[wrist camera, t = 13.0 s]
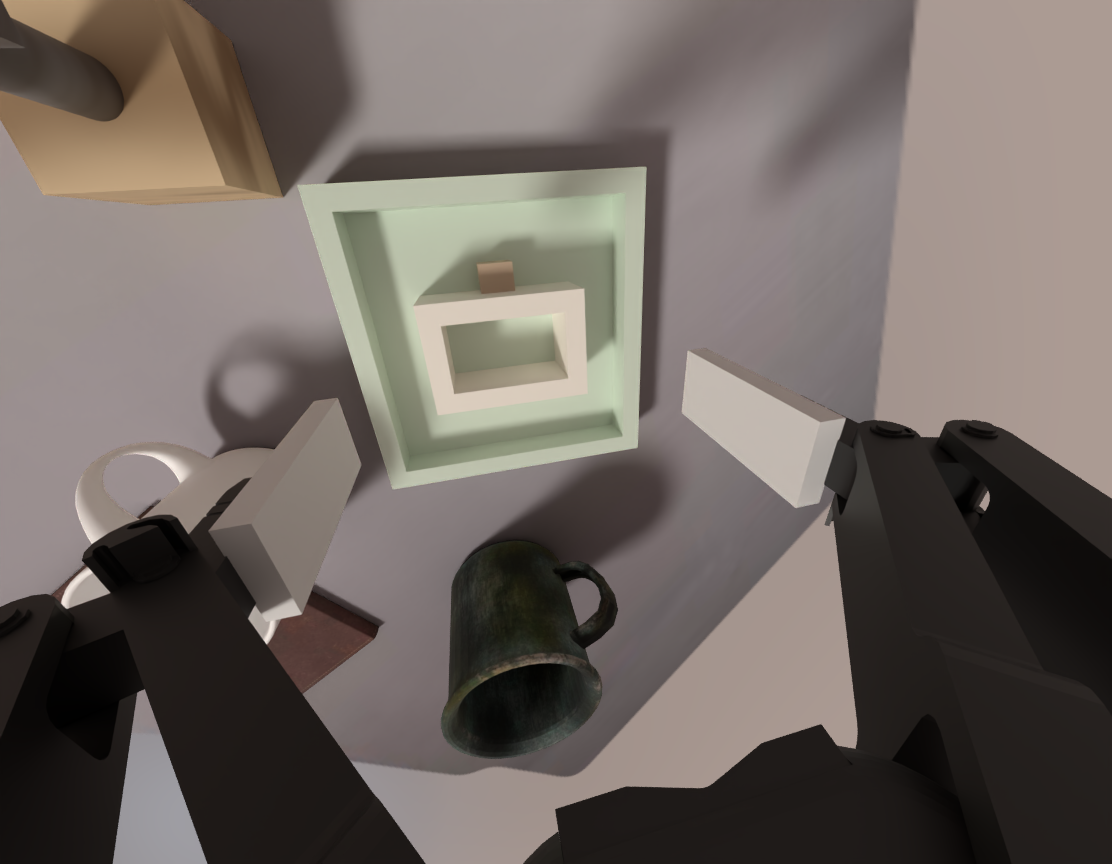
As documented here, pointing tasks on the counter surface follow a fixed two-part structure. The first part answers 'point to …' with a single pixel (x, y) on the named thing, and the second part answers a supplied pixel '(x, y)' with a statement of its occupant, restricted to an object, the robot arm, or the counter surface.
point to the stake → (129, 103)
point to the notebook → (308, 637)
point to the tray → (450, 266)
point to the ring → (497, 304)
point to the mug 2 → (520, 652)
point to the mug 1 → (162, 503)
